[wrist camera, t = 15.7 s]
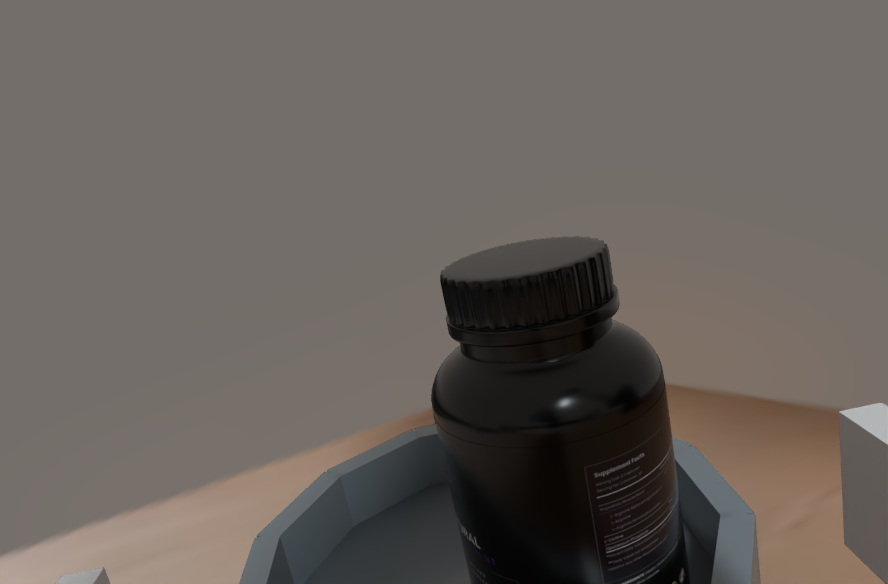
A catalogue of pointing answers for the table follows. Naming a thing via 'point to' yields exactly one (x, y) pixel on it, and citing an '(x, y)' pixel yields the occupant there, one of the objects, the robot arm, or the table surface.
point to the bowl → (436, 528)
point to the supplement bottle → (555, 423)
